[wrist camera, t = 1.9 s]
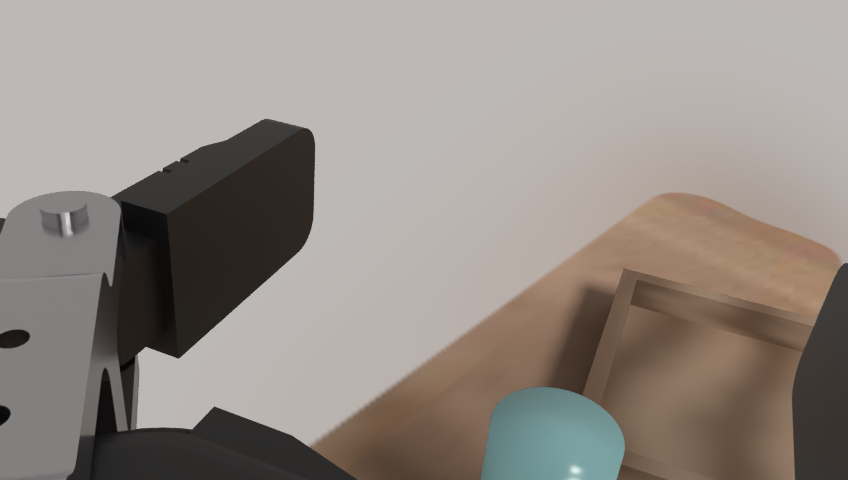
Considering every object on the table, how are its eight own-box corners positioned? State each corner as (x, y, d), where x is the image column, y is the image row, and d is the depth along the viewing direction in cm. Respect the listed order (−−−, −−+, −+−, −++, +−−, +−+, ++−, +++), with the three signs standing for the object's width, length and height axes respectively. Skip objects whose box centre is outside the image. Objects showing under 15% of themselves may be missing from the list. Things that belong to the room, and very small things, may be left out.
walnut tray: (902, 384, 48) (922, 346, 47) (961, 632, 33) (992, 588, 32) (614, 305, 53) (623, 268, 52) (554, 489, 38) (565, 445, 37)
